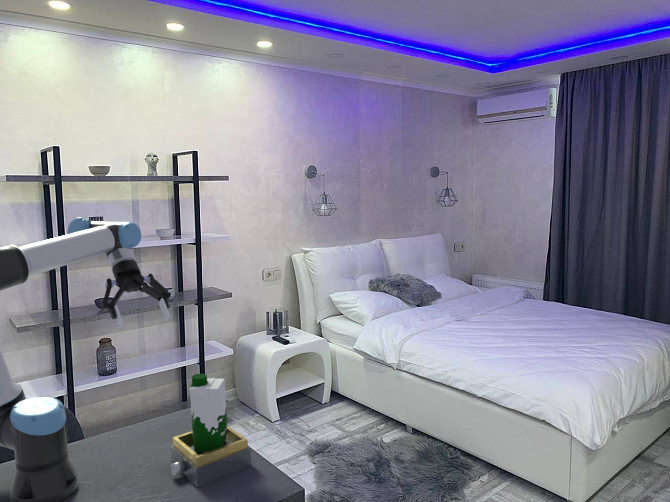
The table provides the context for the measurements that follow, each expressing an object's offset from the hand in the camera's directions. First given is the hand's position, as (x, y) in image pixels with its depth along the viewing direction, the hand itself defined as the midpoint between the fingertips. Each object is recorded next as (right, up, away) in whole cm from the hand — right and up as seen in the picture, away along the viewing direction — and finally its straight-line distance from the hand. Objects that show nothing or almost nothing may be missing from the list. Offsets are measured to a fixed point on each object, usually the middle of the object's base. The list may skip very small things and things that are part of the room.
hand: (145, 322), depth 152 cm
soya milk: (+21, -33, -7) cm, 40 cm away
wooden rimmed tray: (+20, -39, -8) cm, 44 cm away
